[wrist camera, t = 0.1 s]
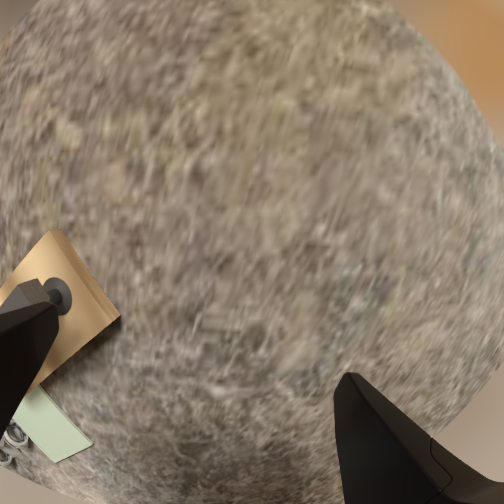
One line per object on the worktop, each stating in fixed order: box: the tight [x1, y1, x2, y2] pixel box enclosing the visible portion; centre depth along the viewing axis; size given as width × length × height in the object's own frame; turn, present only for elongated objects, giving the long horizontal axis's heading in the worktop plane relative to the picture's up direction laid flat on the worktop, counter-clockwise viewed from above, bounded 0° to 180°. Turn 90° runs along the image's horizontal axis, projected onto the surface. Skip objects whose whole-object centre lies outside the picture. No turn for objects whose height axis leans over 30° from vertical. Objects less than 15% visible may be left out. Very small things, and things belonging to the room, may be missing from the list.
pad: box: [13, 384, 93, 463], centre depth 24 cm, size 9×9×1 cm
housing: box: [0, 229, 121, 397], centre depth 22 cm, size 16×9×2 cm, turn 127°
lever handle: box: [0, 278, 62, 314], centre depth 17 cm, size 10×2×7 cm, turn 127°
